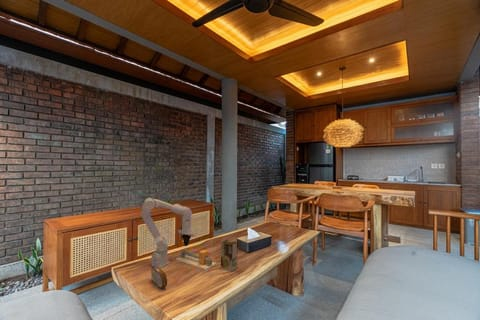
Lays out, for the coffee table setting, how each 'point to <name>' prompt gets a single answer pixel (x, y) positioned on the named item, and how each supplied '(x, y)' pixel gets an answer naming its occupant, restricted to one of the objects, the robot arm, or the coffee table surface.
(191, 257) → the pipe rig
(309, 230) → the coffee table surface
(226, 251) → the coffee box
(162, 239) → the robot arm
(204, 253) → the orange block with hole
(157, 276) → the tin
